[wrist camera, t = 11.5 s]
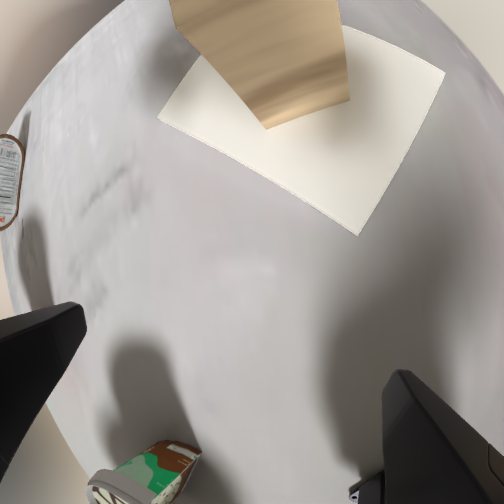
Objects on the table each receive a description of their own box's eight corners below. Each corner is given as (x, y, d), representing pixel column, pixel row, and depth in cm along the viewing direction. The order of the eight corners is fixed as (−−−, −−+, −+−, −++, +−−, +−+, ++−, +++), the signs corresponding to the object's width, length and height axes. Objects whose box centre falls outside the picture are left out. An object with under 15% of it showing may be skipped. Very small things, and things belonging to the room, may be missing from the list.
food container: (152, 407, 23) (77, 455, 14) (206, 442, 21) (141, 508, 12) (137, 469, 25) (84, 509, 15) (179, 497, 23) (131, 546, 13)
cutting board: (442, 81, 15) (445, 73, 13) (357, 236, 17) (357, 235, 16) (250, 9, 19) (246, 1, 18) (164, 122, 22) (156, 118, 21)
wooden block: (349, 100, 16) (330, -32, 6) (266, 129, 18) (175, 27, 8) (315, 41, 17) (273, -74, 6) (242, 68, 18) (162, -28, 8)
